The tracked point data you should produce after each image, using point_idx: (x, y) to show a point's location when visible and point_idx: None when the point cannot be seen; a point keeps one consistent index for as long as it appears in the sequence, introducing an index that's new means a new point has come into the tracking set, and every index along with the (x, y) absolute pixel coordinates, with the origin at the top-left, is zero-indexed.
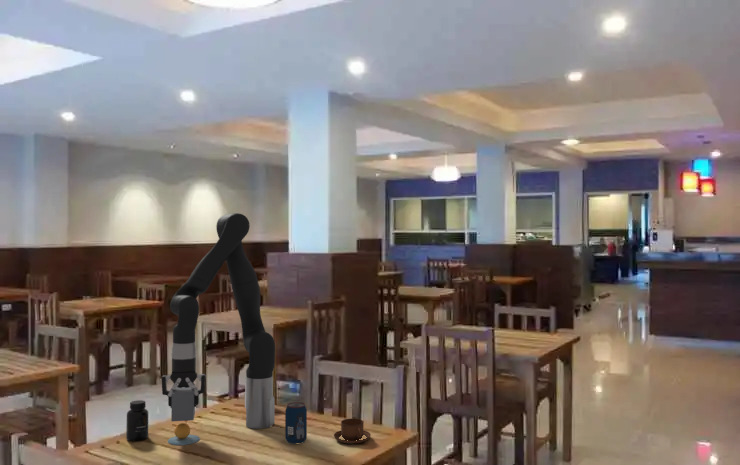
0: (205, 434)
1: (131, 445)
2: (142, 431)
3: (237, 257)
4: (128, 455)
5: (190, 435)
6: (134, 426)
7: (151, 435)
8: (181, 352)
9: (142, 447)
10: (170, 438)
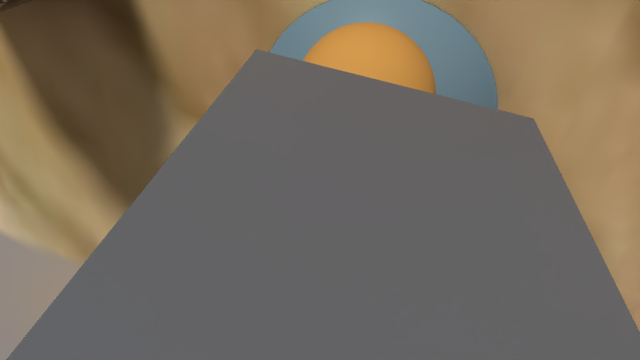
0: (582, 46)
1: (20, 65)
2: (19, 4)
3: None
4: (55, 223)
5: (446, 40)
6: None
7: None
8: None
9: (102, 135)
10: (278, 47)
